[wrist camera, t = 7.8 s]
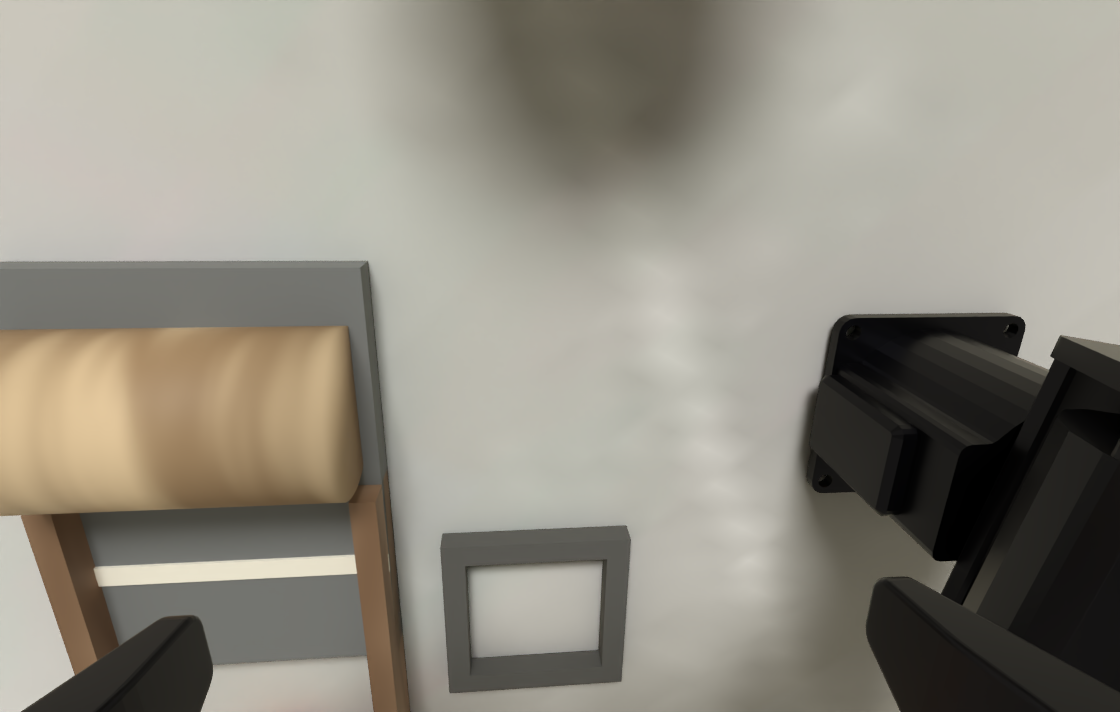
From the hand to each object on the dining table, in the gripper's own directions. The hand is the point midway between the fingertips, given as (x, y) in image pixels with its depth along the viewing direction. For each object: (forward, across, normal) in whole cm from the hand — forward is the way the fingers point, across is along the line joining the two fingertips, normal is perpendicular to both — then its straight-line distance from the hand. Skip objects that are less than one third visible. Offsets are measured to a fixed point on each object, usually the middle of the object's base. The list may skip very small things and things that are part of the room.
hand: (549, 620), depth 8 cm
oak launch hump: (+11, +10, +1) cm, 15 cm away
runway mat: (+12, +10, +4) cm, 16 cm away
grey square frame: (+12, 0, +10) cm, 16 cm away
